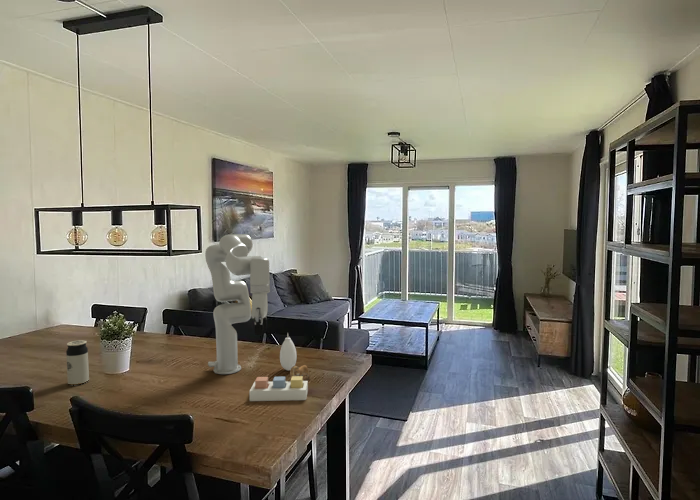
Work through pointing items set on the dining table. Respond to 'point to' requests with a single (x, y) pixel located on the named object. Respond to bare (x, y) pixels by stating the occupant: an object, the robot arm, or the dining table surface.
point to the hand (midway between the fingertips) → (261, 331)
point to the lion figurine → (299, 371)
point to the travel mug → (77, 362)
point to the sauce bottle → (288, 354)
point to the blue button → (279, 382)
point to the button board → (279, 392)
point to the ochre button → (296, 381)
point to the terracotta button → (261, 383)
